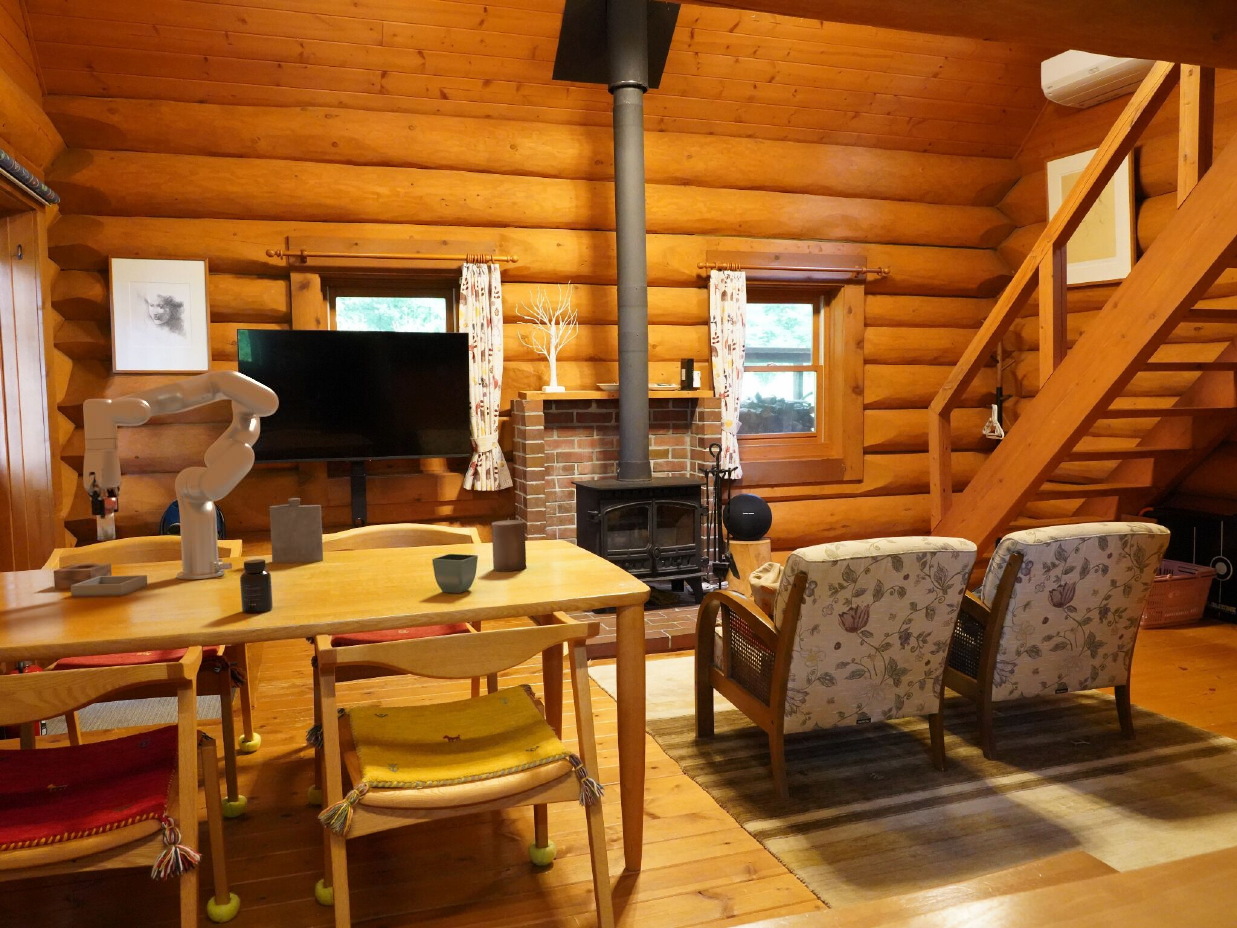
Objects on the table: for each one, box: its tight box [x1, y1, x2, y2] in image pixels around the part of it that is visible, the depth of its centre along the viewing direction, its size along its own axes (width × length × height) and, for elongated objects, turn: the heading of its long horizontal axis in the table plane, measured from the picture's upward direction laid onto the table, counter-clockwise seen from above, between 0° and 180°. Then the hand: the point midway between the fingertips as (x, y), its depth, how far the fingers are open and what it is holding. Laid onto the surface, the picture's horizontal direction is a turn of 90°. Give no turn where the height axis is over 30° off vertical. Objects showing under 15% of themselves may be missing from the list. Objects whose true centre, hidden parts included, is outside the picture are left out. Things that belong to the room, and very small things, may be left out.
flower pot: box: [431, 553, 479, 594], centre depth 230 cm, size 9×9×9 cm
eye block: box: [53, 563, 113, 590], centre depth 249 cm, size 10×10×5 cm
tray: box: [70, 574, 148, 598], centre depth 239 cm, size 13×13×3 cm
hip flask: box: [269, 497, 324, 564], centre depth 281 cm, size 16×4×20 cm, turn 89°
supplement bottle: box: [239, 558, 273, 615], centre depth 212 cm, size 7×7×12 cm
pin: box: [96, 496, 117, 541], centre depth 238 cm, size 6×6×11 cm
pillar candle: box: [491, 517, 527, 572], centre depth 261 cm, size 10×10×15 cm
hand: (105, 512), depth 238 cm, fingers closed on pin, 5 cm apart
